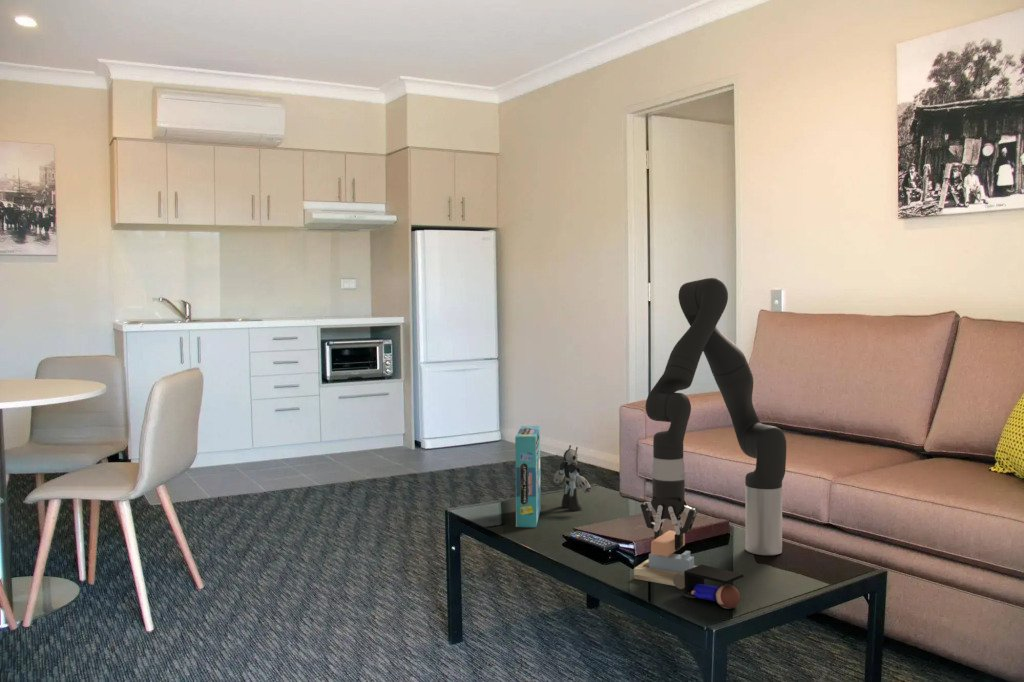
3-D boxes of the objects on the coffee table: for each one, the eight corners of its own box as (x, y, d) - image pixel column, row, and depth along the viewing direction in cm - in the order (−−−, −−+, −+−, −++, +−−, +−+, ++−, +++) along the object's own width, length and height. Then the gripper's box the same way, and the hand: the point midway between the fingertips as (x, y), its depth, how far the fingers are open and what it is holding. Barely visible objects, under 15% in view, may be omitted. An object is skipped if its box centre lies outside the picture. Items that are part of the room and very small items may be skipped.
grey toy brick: (654, 568, 203) (654, 544, 203) (694, 575, 198) (694, 550, 198) (648, 572, 201) (648, 548, 200) (689, 579, 195) (688, 554, 195)
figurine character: (672, 603, 187) (728, 614, 176) (669, 568, 188) (725, 577, 176) (692, 596, 192) (748, 606, 180) (688, 562, 192) (744, 570, 180)
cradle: (649, 568, 207) (649, 558, 207) (704, 577, 200) (704, 567, 199) (634, 578, 200) (634, 568, 199) (690, 588, 192) (690, 577, 192)
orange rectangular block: (669, 542, 205) (669, 530, 205) (684, 544, 203) (684, 532, 203) (651, 554, 196) (651, 541, 196) (667, 556, 193) (667, 543, 193)
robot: (548, 503, 277) (548, 442, 276) (561, 501, 279) (560, 441, 278) (582, 515, 260) (581, 451, 259) (595, 513, 262) (594, 449, 261)
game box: (521, 510, 267) (520, 425, 266) (541, 510, 267) (540, 425, 266) (515, 527, 247) (514, 436, 246) (537, 527, 246) (535, 436, 245)
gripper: (634, 476, 199) (634, 547, 200) (691, 482, 192) (691, 556, 192) (646, 470, 206) (647, 540, 206) (702, 476, 198) (703, 548, 199)
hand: (668, 547), depth 199 cm, fingers closed on orange rectangular block, 4 cm apart
